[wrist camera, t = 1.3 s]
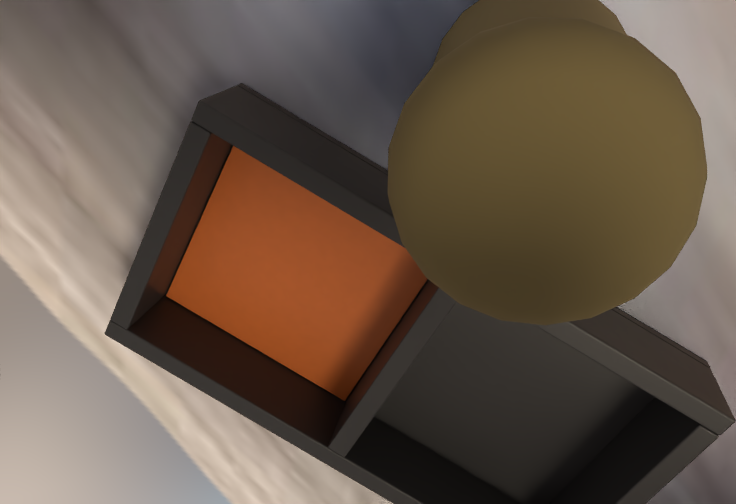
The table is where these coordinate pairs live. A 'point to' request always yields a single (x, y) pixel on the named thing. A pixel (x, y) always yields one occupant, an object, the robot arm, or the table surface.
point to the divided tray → (389, 335)
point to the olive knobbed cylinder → (545, 163)
